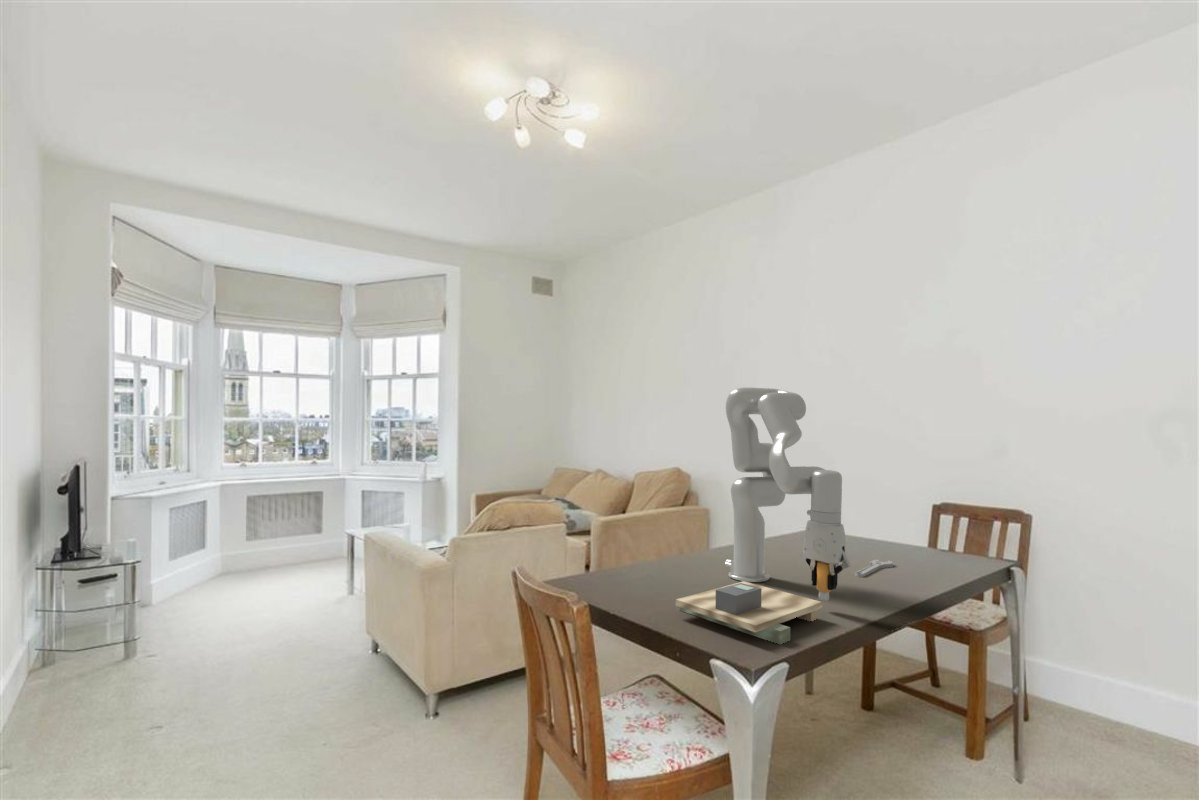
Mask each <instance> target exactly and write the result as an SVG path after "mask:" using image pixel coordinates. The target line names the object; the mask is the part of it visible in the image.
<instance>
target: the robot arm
mask: <svg viewBox="0 0 1199 800" xmlns="http://www.w3.org/2000/svg"><path fill="white" fill-rule="evenodd" d="M806 405H807V404H806V402H805V399H804V398H803V397H802V396H801V395H800V394H798V393H795V392H792V391H787V390H782V389H778V388H769V387H768V388H767V387H766V388H765V387H764V388H763V387H740V388H735V389H733V390H731V391H730V393H728V396H727V398H726V402H725V413H726V418H727V422H728V424H729V429H730V436H731V437H730V438H731V448H732V449H731V450H732V459H733V466H734V468H735V469H736V471H737V472H740V473H747V474H748V473H749V474H750V473H751V474H753V473H757V474H759V473H762V476H743V477H740V478H737V479H736V480H734V481H733V483H732V484H731V487H730V494H731V495H730V497H731V501H732V507H733V508H732V509H733V559H730V558H727V559H726V560H725V562H724V566H725V567H730V570H729V571H728V577H730V578H731V579H733V580H735V581H739V582H742V581H745V582H749V583H761V582H762V583H764V582H767V581H768V580H770V574H769V573H768V572H766V571H765V558H766V557H765V555H766V554H765V548H766V547H765V546H766V545H765V543H766V542H765V541H766V539H765V535H766V534H765V533H766V531H765V529H766V527H765V526H766V525H765V524H766V522H765V519H764V516H763V515H762V513H761V512H760V509H759V508H761V507H762V508H763V507H778V506H780V505H782V504H783V502H784V501H785V498H786V495H810V496H811V498H810V510H809V509H808V510H806V514H807V516H809V517H810V519H809V520H807V523H806V525H805V530H804V535H803V536H804V537H803V538H804V539H803V545H802V546H803V547H802V551H801V552H800V557H801V558H802V559H803V560H804V561H805V562H806V563H807V564H808V566H809V570H811V586H814V587H816V586H817V562H818V561H820V562H825V563H829V568H830V574H829V575H828V590H832V591H833V590H836V589H837V586H838V579H839V578H838V576H839V575H838V574H840V573H841V572H842V571H843V570H845V569H847V568H850V567H851V566H852V564H851V562H850V560H849V558H848V557H847V556H848V555H847V543H846V533H845V528H844V524H843V523H842V499H843V498H842V497H843V496H842V491H843V476H842V474H841V473H840V472H839V471H836V470H832V469H831V470H830V469H829V470H828V469H825V468H823V467H820V466H791V465H790V464H789V461H788V459H787V456H786V453H785V451H786V450H787V449H788V448H790V447H792V446H794V445H796V443H798V442H799V441H800V440H801V438H802V435H803V434H802V433H803V432H802V430H801V428H800V426H799V424H798V422H797V421H800V420H802V419H803V418H804V417H805V415H806V412H807V406H806ZM749 415H760V416H761V419H762V421H763V423H764V425H765V427H766V430H767V431H768V434H769V436H770V439H771V441H772V443H769V442H760V441H759V440H760V439H759V431H758V430H759V429H758V426H757V425H756V424H755V421H754V420H753V419H752V418H751V416H749ZM840 563H842V564H840Z"/></svg>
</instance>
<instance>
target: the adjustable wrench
mask: <svg viewBox="0 0 1199 800" xmlns="http://www.w3.org/2000/svg"><path fill="white" fill-rule="evenodd" d="M893 566H894V565H893V561H891V560H887V561H880V560H879V559H873V560H870V561H869V565H868V566H866V567H863V568H862V569H860V570H857V571H855V573H854V576H855V577H857V576H858V578H864V577H867V576H868V575H870V574H873V573H874V572H876V571H877V570H880V569H884V568H893Z"/></svg>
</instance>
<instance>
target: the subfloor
mask: <svg viewBox="0 0 1199 800" xmlns="http://www.w3.org/2000/svg"><path fill="white" fill-rule="evenodd" d="M739 583H743V584H747V585H751V586H754V587H758V588H762V591H761V607H760V608H757V609H754V610H751V611H748V612H745V613H742V614H738V615H733V614H730V613H727V612H724V611H721V610H718V609H716V590H717V589H721V588H725V587H728V586H732V585H736V584H739ZM675 607H679V611H681V612H683V613H687V614H688V615H691V616H695V617H698V618H701V619H704V620H707V621H708V622H709V621H710V622H712V623H715V624H718V625H721V626H725V627H727V628H730V629H732V630H735V631H739V632H741V633H744V634H748V635H751V636H752V637H757V638H759V639H762V640H765V641H767V640H768V642H770V641H771V642H770V643H773V642H774V644H776V643H777V645H779V644H780V646H781V645H783V643H784V644H786V643H788V642H787V641H789V642H790V641H791V627H790V626H787V625H784V624H782V623H785V622H788V621H791V620H794V619H795V618H796V617H797V618H796V619H800V620H803V619H804V620H803V621H806V620H807V622H810V621H812V622H814V620H815V621H817V620H818V617H819V616H818V612H819V611H818V610H821V609H823V601H821V600H816V599H814V598H813V599H812V598H810V597H809V598H808V597H805V596H801V595H796V594H794V593H790V592H786V591H784V590H783V591H782V590H779V589H775V588H770V587H766V586H763V585H760V584H756V583H753V582H745V581H739V582H736V583H732V584H729V585H728V584H727V585H724V586H720V587H717V588H712V589H709V590H706V591H701V592H699V593H698V592H697V593H694V594H692V595H691V594H690V595H687V596H683V597H679V598H676V599H675ZM816 619H817V620H816ZM785 642H786V643H785Z"/></svg>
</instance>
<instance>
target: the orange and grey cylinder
mask: <svg viewBox="0 0 1199 800" xmlns="http://www.w3.org/2000/svg"><path fill="white" fill-rule="evenodd" d="M829 574H830V568H829V563H825V562H820V561H818V562H817V585H816V586H815V587H816V590H817V591H818V599H819V601H824V602H825V601H829V600H830V592H832V591H833V590H828V575H829Z"/></svg>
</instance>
